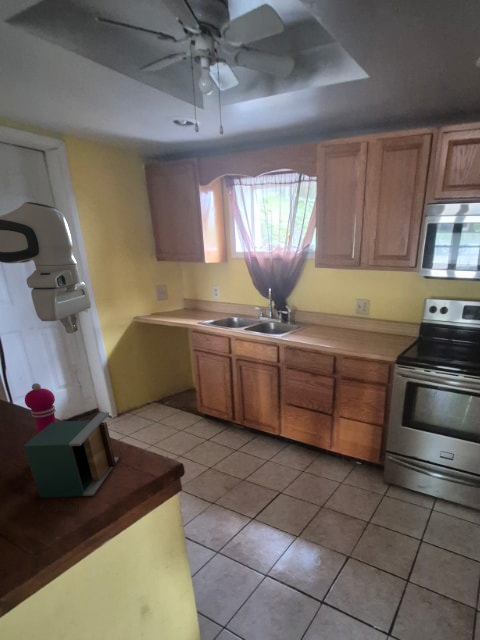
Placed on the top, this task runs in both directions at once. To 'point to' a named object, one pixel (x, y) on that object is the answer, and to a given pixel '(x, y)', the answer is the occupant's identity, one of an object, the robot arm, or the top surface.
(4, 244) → the robot arm
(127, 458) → the top surface
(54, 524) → the top surface
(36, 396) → the pepper mill
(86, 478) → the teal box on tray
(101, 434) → the sliding door
